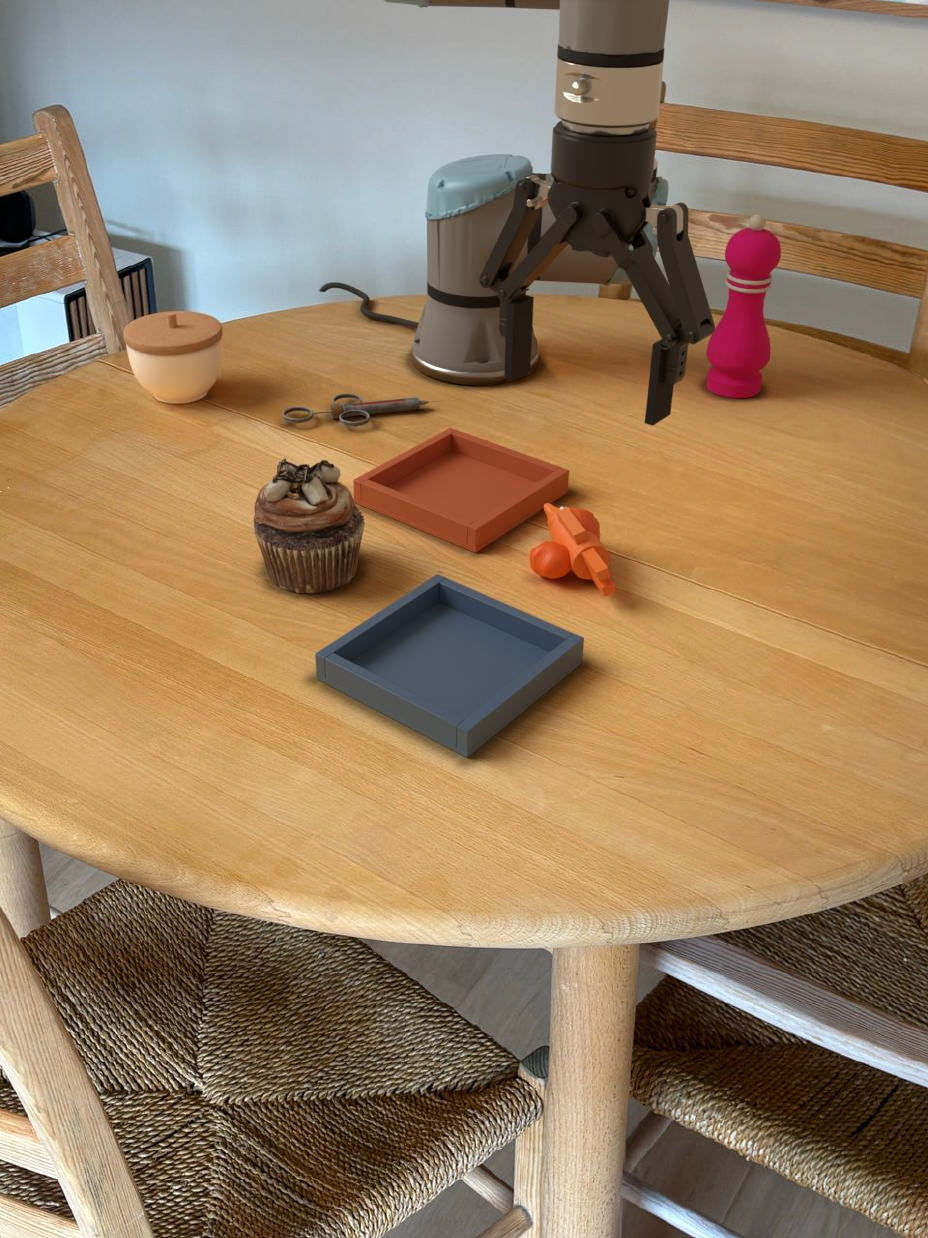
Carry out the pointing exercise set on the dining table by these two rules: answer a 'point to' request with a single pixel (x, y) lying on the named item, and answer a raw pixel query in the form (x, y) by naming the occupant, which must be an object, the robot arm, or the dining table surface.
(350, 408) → the syringe
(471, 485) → the terracotta tray
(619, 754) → the dining table surface
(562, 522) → the orange toy bird
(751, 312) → the pepper mill
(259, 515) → the cupcake
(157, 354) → the trinket box
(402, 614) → the blue tray
